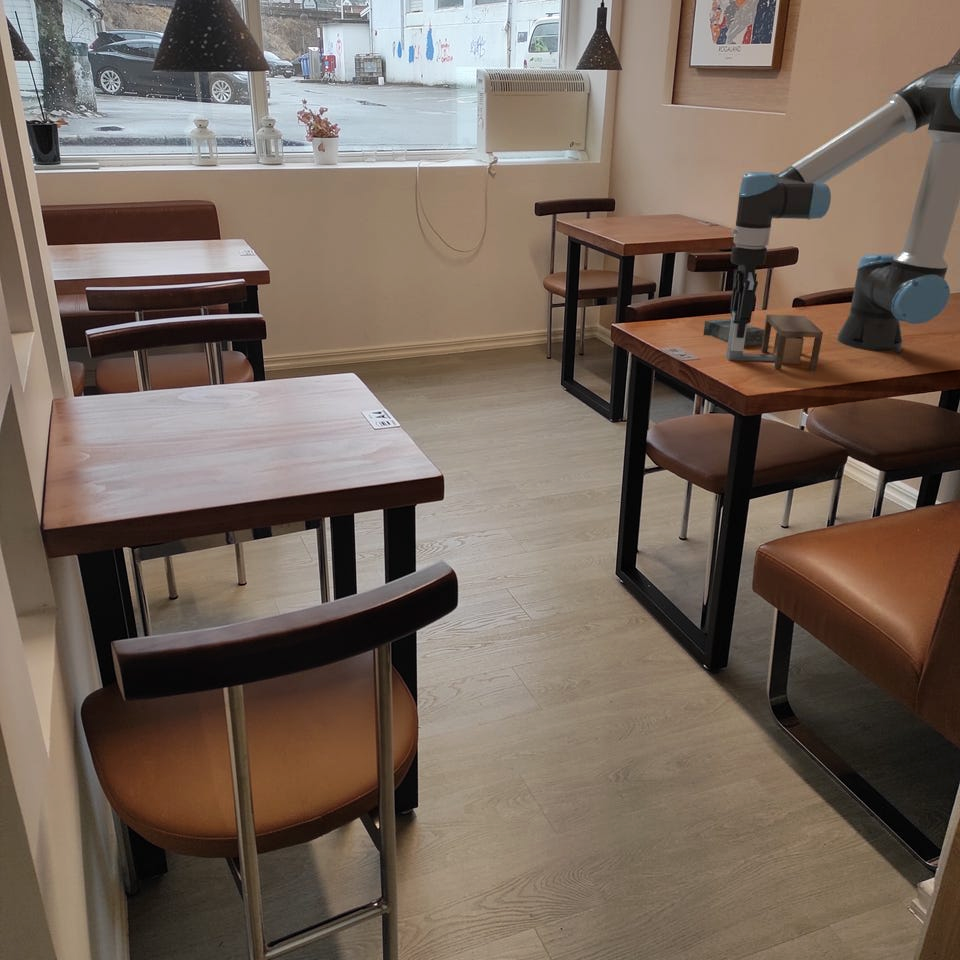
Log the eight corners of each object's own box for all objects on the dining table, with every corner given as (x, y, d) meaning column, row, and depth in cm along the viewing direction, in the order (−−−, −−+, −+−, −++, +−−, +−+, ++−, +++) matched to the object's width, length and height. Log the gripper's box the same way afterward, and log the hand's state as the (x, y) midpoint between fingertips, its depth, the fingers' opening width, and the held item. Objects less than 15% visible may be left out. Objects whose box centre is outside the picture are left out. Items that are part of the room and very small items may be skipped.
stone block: (730, 335, 236) (733, 315, 234) (767, 350, 224) (770, 329, 222) (702, 338, 232) (705, 318, 230) (738, 353, 220) (741, 332, 218)
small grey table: (797, 357, 217) (805, 315, 213) (814, 376, 204) (823, 332, 200) (760, 356, 218) (766, 314, 213) (774, 374, 204) (781, 330, 200)
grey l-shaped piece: (793, 357, 212) (801, 311, 208) (799, 364, 208) (807, 317, 203) (725, 355, 213) (731, 309, 209) (729, 361, 209) (736, 314, 204)
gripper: (726, 238, 207) (712, 338, 217) (740, 251, 193) (725, 357, 203) (758, 239, 207) (744, 339, 217) (775, 252, 193) (759, 358, 202)
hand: (735, 348), depth 210 cm, fingers closed on grey l-shaped piece, 3 cm apart
